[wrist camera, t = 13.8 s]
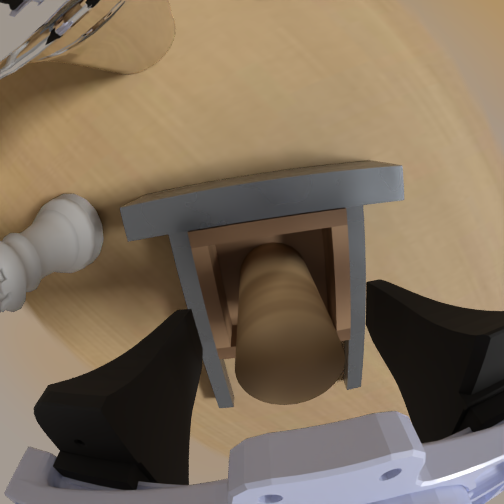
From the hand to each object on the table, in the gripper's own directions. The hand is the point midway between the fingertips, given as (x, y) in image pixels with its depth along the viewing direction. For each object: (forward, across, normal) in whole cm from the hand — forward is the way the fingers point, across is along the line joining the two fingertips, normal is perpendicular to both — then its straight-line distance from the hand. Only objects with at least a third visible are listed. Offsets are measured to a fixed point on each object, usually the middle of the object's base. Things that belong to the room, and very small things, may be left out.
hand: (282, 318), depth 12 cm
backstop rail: (+5, 0, +2) cm, 5 cm away
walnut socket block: (+5, 0, 0) cm, 5 cm away
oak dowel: (+4, 0, 0) cm, 4 cm away
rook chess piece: (+5, +11, -4) cm, 13 cm away
